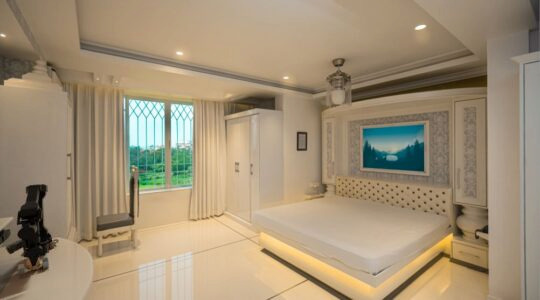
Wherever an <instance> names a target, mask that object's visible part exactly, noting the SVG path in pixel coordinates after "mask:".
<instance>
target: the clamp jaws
mask: <svg viewBox="0 0 540 300" xmlns="http://www.w3.org/2000/svg"><path fill="white" fill-rule="evenodd" d="M41 261H42V262H41V263H42V266H43V269H47V268H49V269H50V263H49V257H48V256H47V257H43V258H41ZM24 268H25V263H21V264H17V273H18V278H19V277H20V276H23V275H25V271H24Z"/></svg>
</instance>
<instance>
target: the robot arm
mask: <svg viewBox="0 0 540 300" xmlns="http://www.w3.org/2000/svg"><path fill="white" fill-rule="evenodd" d="M48 186H49V185H47V184H45V183H43V184H42V183H37V184H29V185H27V186H25V194H26V199H25V202H24V204H22V205H21V206H20V208H19V210H18V211H17V219H16V225H17V226H19V225H21V227H20V229H19V230H18V231H17V234H16V235H17V238H18V239H19V240H16V241H15V242H12V243H10V244H9V245H6V246H5V250H6V251H7V253H8V254H9V255H12V254H14V253H16V252H17V251H19V250H21V249H22V251H23V258H24V259H25V258H26V257H28V258H29V259H30V262H31V265H32V266H35V265H36V263H37V261H38V259H40V257H41V256H44V255H47V254H49V253H50V250H49V249H48V244H50V243H51V242H52V240H53V237H52V234H51V233H50V232H49V228H47V226H45V210H44V199H45V198H46V196H47V192H49V188H48ZM26 259H27V258H26Z"/></svg>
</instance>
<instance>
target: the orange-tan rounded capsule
mask: <svg viewBox="0 0 540 300" xmlns="http://www.w3.org/2000/svg"><path fill="white" fill-rule="evenodd" d="M40 261H41V260H40V258H39V259H38V261H37V263H36V265H35V266H32V265H31V262H30V259H29V258H28V257H26V268H27V270H32V269H36V268H38V267H40V264H41V262H40Z"/></svg>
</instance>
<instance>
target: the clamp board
mask: <svg viewBox="0 0 540 300" xmlns="http://www.w3.org/2000/svg"><path fill="white" fill-rule="evenodd" d="M24 271H25V275H23V276H20V277H19V276H18V278H19V280H21V279H25V278H28V277H31V276H35V275H37V274H40V273H45V272H48V271H50V267H49V268H47V269H43V266H42V262H40V267H38V268H36V269H32V270H27V267H24Z"/></svg>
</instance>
